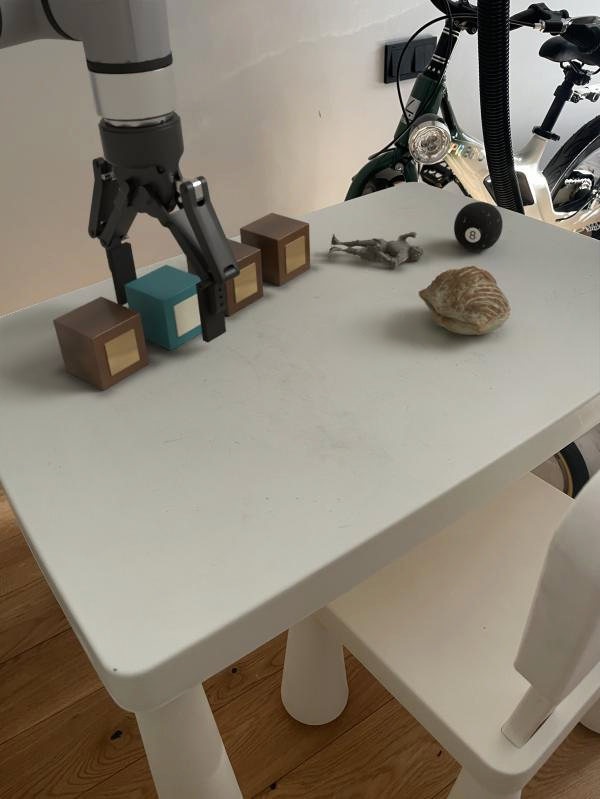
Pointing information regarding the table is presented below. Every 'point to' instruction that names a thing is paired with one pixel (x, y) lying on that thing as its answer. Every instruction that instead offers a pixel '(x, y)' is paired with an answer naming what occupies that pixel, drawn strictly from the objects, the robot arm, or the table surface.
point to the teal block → (166, 305)
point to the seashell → (466, 301)
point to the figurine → (381, 249)
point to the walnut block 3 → (279, 246)
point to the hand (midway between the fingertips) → (169, 317)
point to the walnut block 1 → (102, 342)
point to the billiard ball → (478, 226)
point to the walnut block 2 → (242, 277)
